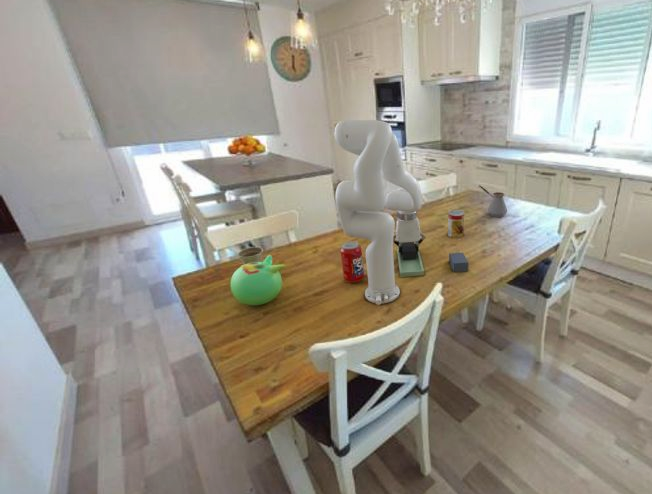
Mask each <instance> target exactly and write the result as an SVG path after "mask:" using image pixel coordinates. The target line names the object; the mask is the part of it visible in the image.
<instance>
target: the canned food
mask: <svg viewBox="0 0 652 494" xmlns="http://www.w3.org/2000/svg"><path fill="white" fill-rule="evenodd" d="M464 227H465V212H464V211H463V210H458V209H454V210H453V209H452V210H449V211H448V216H447V235H448V237H449V238H455V239H457V238H459V239H460V238H463V236H464V229H465V228H464Z"/></svg>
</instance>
